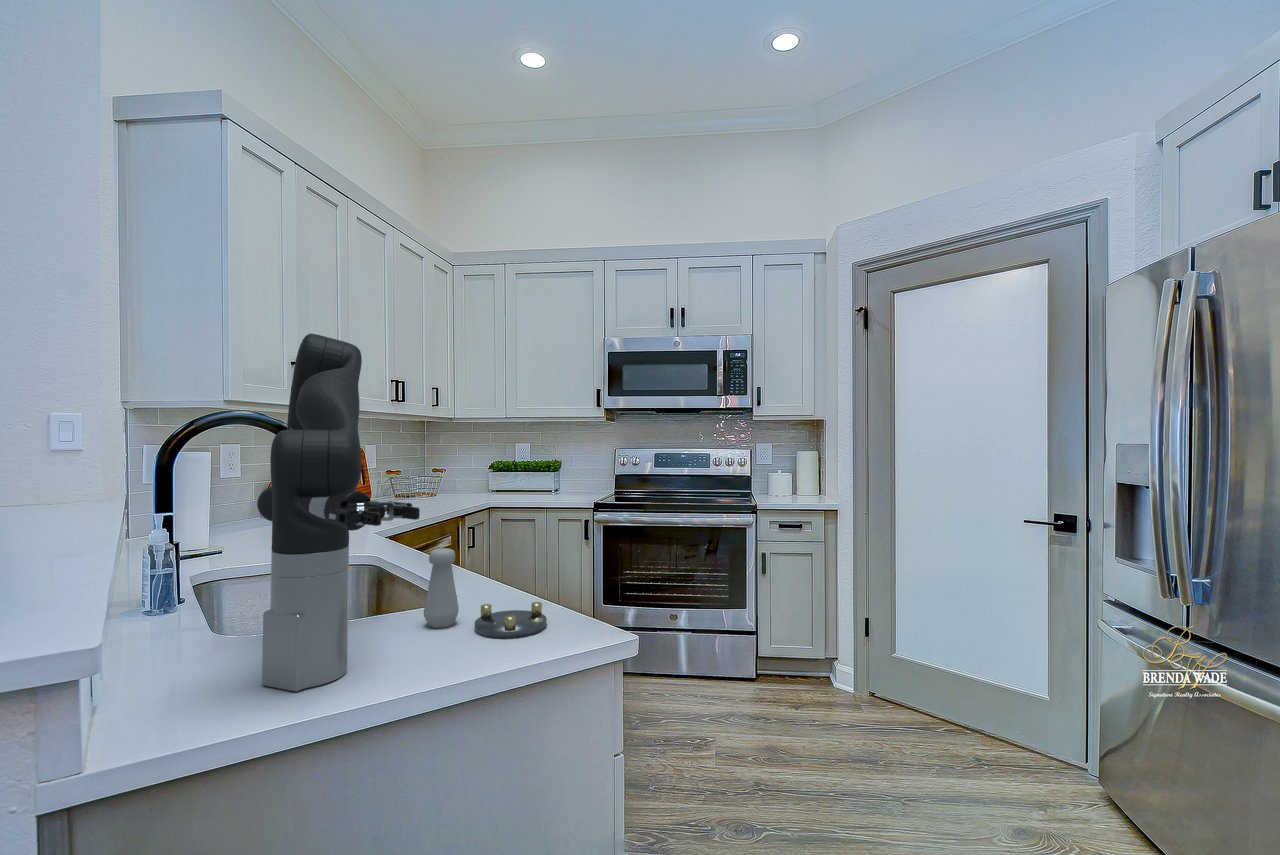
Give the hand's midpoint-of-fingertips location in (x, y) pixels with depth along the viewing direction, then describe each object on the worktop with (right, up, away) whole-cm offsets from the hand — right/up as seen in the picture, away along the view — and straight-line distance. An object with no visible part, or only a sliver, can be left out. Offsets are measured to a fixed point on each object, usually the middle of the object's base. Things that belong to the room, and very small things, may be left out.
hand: (399, 516), depth 109 cm
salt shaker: (+9, -18, -5) cm, 21 cm away
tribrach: (+22, -18, -6) cm, 29 cm away
